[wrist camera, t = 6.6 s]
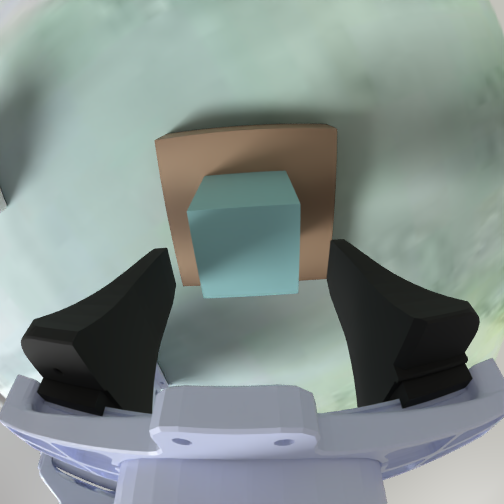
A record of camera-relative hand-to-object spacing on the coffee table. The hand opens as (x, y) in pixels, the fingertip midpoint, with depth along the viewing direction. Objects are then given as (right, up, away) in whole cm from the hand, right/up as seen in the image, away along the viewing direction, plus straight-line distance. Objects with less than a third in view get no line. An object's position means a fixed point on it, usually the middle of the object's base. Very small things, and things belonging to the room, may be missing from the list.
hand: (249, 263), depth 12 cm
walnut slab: (0, +4, +7) cm, 8 cm away
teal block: (0, +3, +4) cm, 5 cm away
